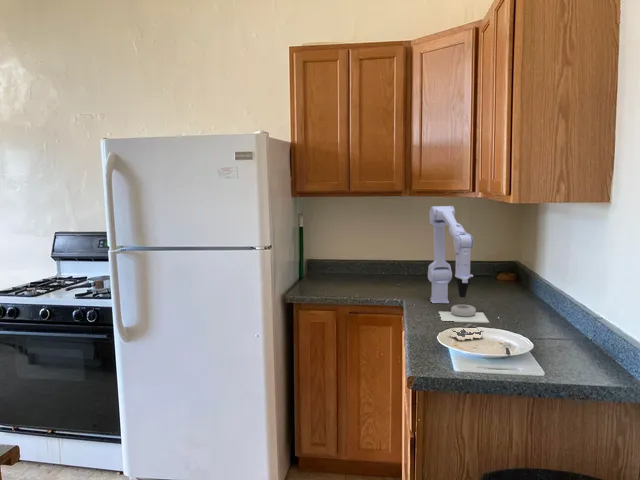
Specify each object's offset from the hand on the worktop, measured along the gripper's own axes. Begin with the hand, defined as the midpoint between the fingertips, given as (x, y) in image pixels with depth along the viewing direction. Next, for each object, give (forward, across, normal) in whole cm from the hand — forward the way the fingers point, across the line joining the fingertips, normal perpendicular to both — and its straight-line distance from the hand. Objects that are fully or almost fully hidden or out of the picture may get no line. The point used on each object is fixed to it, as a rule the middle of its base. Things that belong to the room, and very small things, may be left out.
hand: (462, 296), depth 200 cm
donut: (+6, +6, -1) cm, 9 cm away
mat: (+8, -2, 0) cm, 8 cm away
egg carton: (+8, -29, +2) cm, 30 cm away
